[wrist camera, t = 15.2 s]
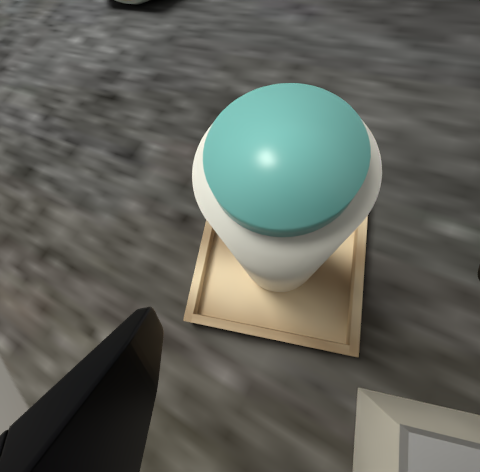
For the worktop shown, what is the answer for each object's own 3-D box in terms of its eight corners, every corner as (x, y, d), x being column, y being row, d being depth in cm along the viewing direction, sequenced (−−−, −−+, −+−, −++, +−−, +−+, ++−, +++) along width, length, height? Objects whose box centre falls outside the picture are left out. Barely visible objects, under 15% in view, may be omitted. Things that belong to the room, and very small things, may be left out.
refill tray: (352, 353, 18) (358, 357, 17) (189, 320, 20) (183, 320, 19) (363, 196, 21) (369, 188, 20) (220, 181, 23) (217, 172, 22)
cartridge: (311, 298, 19) (389, 267, 6) (237, 285, 20) (161, 233, 7) (319, 227, 21) (398, 70, 7) (250, 218, 22) (206, 65, 8)
